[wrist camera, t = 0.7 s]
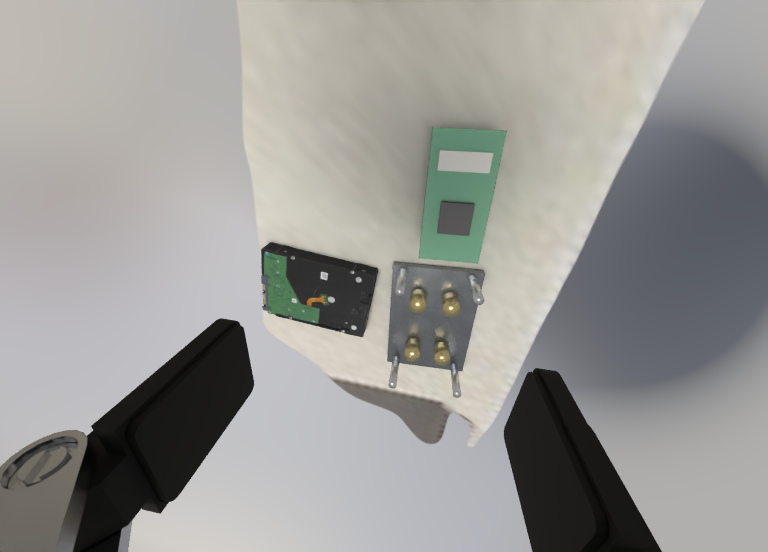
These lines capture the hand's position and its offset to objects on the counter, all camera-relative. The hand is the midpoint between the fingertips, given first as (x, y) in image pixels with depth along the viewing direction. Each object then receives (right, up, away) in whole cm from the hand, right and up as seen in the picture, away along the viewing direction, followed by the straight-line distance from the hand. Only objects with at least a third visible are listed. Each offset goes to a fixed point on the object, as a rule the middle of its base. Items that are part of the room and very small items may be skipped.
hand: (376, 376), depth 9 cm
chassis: (+7, -2, +29) cm, 30 cm away
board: (+7, +11, +18) cm, 23 cm away
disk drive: (-8, +2, +30) cm, 31 cm away
